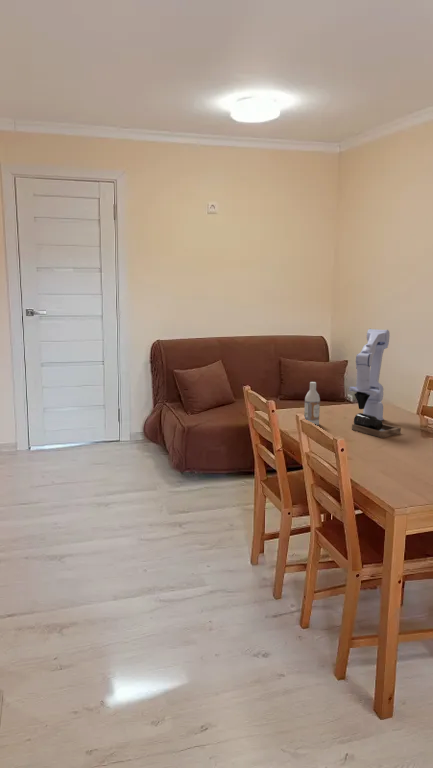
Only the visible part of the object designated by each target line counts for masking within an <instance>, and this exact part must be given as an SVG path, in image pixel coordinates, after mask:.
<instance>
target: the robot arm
mask: <svg viewBox="0 0 433 768" xmlns="http://www.w3.org/2000/svg"><path fill="white" fill-rule="evenodd" d="M390 337H391V336H390V330H389V329H376V328H375V329H374V328H369V329H368V330H367V332H366V341H367V343H366V344H364V345H363V346H362V349H361V351H360V352H359V353H356V356H355V368H356V380H355V381H356V382H355V383H356V385H355V386H348V392H354V396H355V397H354V398H355V399H356V402H357V405H358V409H359V410H362V411H363V412H362V413H363V414H367V415H371V416H375V417H376V418H377V419H378V420H381V421H384V420H385V418H384V405H383V403H382V401H383V398H384V386H383V384H381V383H380V382H379V381H380V374H381V368H382V361H383V354H384V351H385V350H386V349H387V348H389V345H390V344H389V343H390Z"/></svg>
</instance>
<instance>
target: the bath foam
mask: <svg viewBox="0 0 433 768" xmlns="http://www.w3.org/2000/svg"><path fill="white" fill-rule="evenodd" d="M320 406H321V398H320V394H319V393H318V390H317V382H316V381H310V382H309V390H308V391H307V393H306V395H305V397H304V411H303V412H304V415H303V416H304V417H305V419H306V420H308V421H310V422H312V423H314V424H316V426H319V425H320V410H321V409H320ZM304 417H303V418H304Z"/></svg>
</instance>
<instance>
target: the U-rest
mask: <svg viewBox="0 0 433 768" xmlns="http://www.w3.org/2000/svg"><path fill="white" fill-rule="evenodd" d="M351 431H355V432H357V433H362V434H365V435H369V436H372V437H376V438H380V439H383V438H389V437H392V436H396V435H400V434H401V427H397V426H395V425H394V426H393V425H390V424H386V423H383V426H382V428H381V430H379V431H378V430H375V429H371V428H367V427H363V426H359V425H356V424H354V423H353V424H352V425H351Z"/></svg>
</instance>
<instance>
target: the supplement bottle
mask: <svg viewBox="0 0 433 768" xmlns="http://www.w3.org/2000/svg"><path fill="white" fill-rule="evenodd" d="M353 418H354V419H353V424H356V425H359V426H363V427H367V428H371V429H375V430H378V431H379V430H381V428H382V426H383V424H384V423H383V420H378V419H377V418H376V417H375V416H371V415H367V414H363V412H359V413H356V414H355V416H354V417H353Z"/></svg>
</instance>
